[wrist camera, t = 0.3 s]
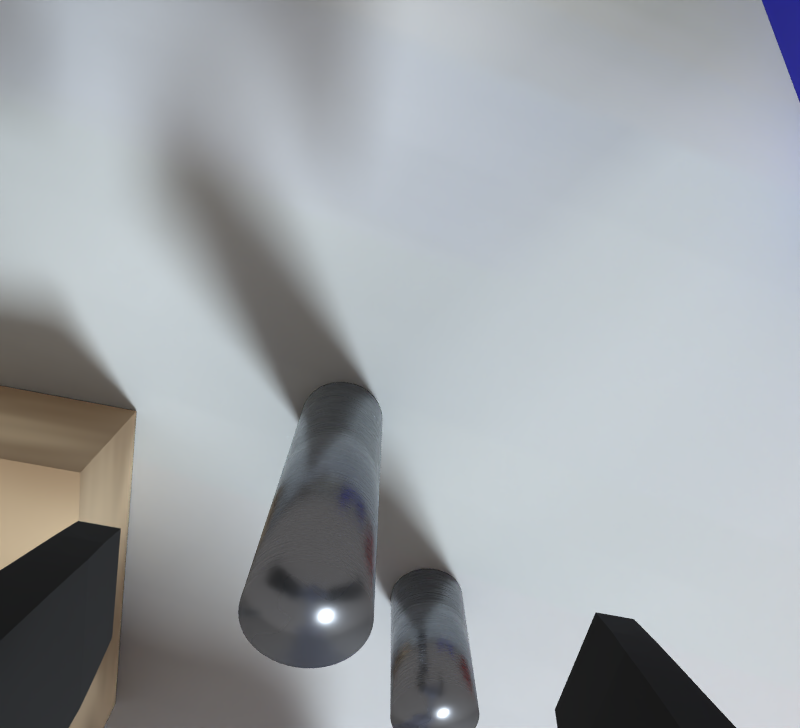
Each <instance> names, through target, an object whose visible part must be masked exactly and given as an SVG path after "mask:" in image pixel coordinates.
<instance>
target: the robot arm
mask: <svg viewBox="0 0 800 728" xmlns="http://www.w3.org/2000/svg"><path fill="white" fill-rule="evenodd" d="M120 534H121V528H116V527H110V526H105V525H99V524H93V523H88V522H82V521H77V522H75V523H74V524H72V525H70V526H69V527H67V528H66V529H64V530H62V531H61V532H59V533H57V534H56V535H54V536H53V537H51V538H49V539H48V540H46V541H45V542H43V543H42V544H40V545H39V546H37V547H35V548H34V549H32V550H31V551H29V552H28V553H26V554H25V555H23V556H21V557H20V558H18V559H17V560H15V561H14V562H12V563H11V564H9V565H7V566H6V567H4V568H3V569H1V570H0V728H69V727H70V725H71V723H72V721H73V720H74V718H75V716H76V714H77V713H78V711H79V709H80V707H81V705H82V703H83V701H84V699H85V697H86V694H87V692H88V690H89V688H90V686H91V684H92V682H93V679H94V677H95V675H96V673H97V671H98V668H99V666H100V664H101V662H102V659H103V657H104V655H105V653H106V650H107V648H108V646H109V644H110V641H111V639H112V634H113V622H114V609H115V596H116V584H117V571H118V559H119V546H120ZM555 713H556V720H557V727H558V728H736V727H735V726H734V725H733V724H732V723H731V722H730V721H729V720H728V718H727V717H726V716H725V715H724V714H723V713H722V712H721V711H720V710H719V709H718V708H717V707H716V706H715V705H714V703H713V702H712V701H711V700H710V699H709V698H708V697H707V696H706V695H705V694H704V693H703V692H702V691H701V689H700V688H699V687H698V686H697V685H696V684H695V683H694V682H693V681H692V680H691V679H690V678H689V677H688V675H687V674H686V673H685V672H684V671H683V670H682V669H681V668H680V667H679V666H678V665H677V664H676V662H675V661H674V660H673V659H672V658H671V657H670V656H669V655H668V654H667V653H666V652H665V651H664V650H663V649H662V648H661V646H660V645H659V644H658V643H657V642H656V641H655V640H654V639H653V638H652V637H651V636H650V635H649V634H648V633H647V632H646V631H645V630H644V629H643V628H642V627H641V626H640V625H639V624H638V623H637V622H636V621H635V620H634V619H630V618H624V617H618V616H613V615H607V614H601V613H595V616H594V618H593V620H592V623H591V625H590V627H589V630H588V632H587V635H586V637H585V639H584V642H583V644H582V647H581V649H580V651H579V654H578V656H577V658H576V661H575V663H574V666H573V668H572V670H571V673H570V675H569V677H568V680H567V682H566V685H565V687H564V689H563V692H562V694H561V697H560V699H559V701H558V704H557V706H556V708H555Z"/></svg>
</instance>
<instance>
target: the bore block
mask: <svg viewBox="0 0 800 728" xmlns="http://www.w3.org/2000/svg"><path fill="white" fill-rule="evenodd" d="M135 425H136V411H133V410H128V409H122V408H117V407H112V406H106V405H101V404H96V403H90V402H85V401H80V400H74V399H69V398H64V397H58V396H53V395H48V394H42V393H37V392H32V391H26V390H21V389H16V388H10V387H5V386H0V570H1V569H3V568H4V567H6V566H7V565H9V564H11V563H12V562H14V561H15V560H17V559H18V558H20V557H21V556H23V555H25V554H26V553H28V552H29V551H31V550H32V549H34V548H35V547H37V546H39V545H40V544H42V543H43V542H45V541H46V540H48V539H49V538H51V537H53V536H54V535H56V534H57V533H59V532H61V531H62V530H64V529H66V528H67V527H69V526H70V525H72V524H74V523H75V522H77V521H82V522H88V523H93V524H99V525H105V526H110V527H116V528H121V534H120V546H119V559H118V571H117V584H116V596H115V609H114V622H113V634H112V639H111V641H110V644H109V646H108V648H107V650H106V653H105V655H104V657H103V659H102V662H101V664H100V666H99V668H98V671H97V673H96V675H95V677H94V679H93V682H92V684H91V686H90V688H89V690H88V692H87V694H86V697H85V699H84V701H83V703H82V705H81V707H80V709H79V711H78V713H77V714H76V716H75V718H74V720H73V721H72V723H71V725H70V727H69V728H104V726H105V724H106V722H107V720H108V718H109V716H110V713H111V711H112V709H113V707H114V705H115V700H116V686H117V672H118V658H119V645H120V631H121V617H122V603H123V590H124V576H125V562H126V548H127V535H128V521H129V507H130V493H131V480H132V466H133V452H134V438H135Z"/></svg>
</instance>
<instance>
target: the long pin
mask: <svg viewBox="0 0 800 728" xmlns="http://www.w3.org/2000/svg"><path fill="white" fill-rule="evenodd" d="M381 438H382V412H381V409H380V406H379V404H378V402H377V401H376V399H375V398H374V397H373V396H372V395H371V394H370V393H369V392H368V391H367V390H365V389H364V388H362V387H360V386H358V385H355V384H351V383H346V382H336V383H330V384H327V385H324V386H322V387H320V388H318V389H317V390H316V391H314V392H313V393H312V394H311V395H310V396H309V398H308V399H307V401H306V402H305V405H304V407H303V410H302V413H301V416H300V419H299V422H298V426H297V429H296V432H295V435H294V438H293V441H292V444H291V447H290V450H289V453H288V456H287V459H286V462H285V465H284V468H283V471H282V474H281V477H280V480H279V483H278V487H277V490H276V493H275V496H274V499H273V502H272V505H271V508H270V511H269V514H268V517H267V520H266V523H265V526H264V529H263V532H262V535H261V538H260V541H259V544H258V547H257V551H256V554H255V557H254V560H253V563H252V566H251V569H250V572H249V575H248V578H247V581H246V584H245V587H244V590H243V593H242V596H241V599H240V603H239V611H238V614H239V622H240V625H241V628H242V631H243V633H244V635H245V636H246V638H247V639H248V641H249V642H250V643H251V644H252V645H253V646H254V647H255V648H256V649H257V650H258V651H259V652H261V653H262V654H263V655H265V656H266V657H268V658H270V659H272V660H274V661H276V662H279V663H281V664H285V665H288V666H293V667H299V668H319V667H325V666H330V665H333V664H337V663H339V662H341V661H344V660H346V659H347V658H349V657H351V656H352V655H353V654H355V653H356V652H357V651H358V650H359V649H360V648H361V647H362V646H363V645H364V644H365V642H366V641H367V639H368V637H369V635H370V633H371V630H372V627H373V621H374V598H375V575H376V552H377V530H378V507H379V484H380V461H381Z"/></svg>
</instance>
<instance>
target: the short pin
mask: <svg viewBox="0 0 800 728" xmlns="http://www.w3.org/2000/svg"><path fill="white" fill-rule="evenodd" d="M390 718H391V723H392V726H393V728H475V727H476V726H477V723H478V720H479V708H478V701H477V694H476V687H475V680H474V673H473V666H472V659H471V652H470V646H469V639H468V632H467V625H466V618H465V611H464V604H463V597H462V591H461V588H460V586H459V584H458V583H457V581H456V580H455V579H454V578H453V577H451V576H450V575H448V574H447V573H445V572H442V571H439V570H434V569H421V570H416V571H413V572H410V573H408V574H406V575H405V576H403V577H402V578H401V579H400V580H399V581H398V582H397V583H396V584H395V586H394V588H393V591H392V595H391V715H390Z"/></svg>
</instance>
